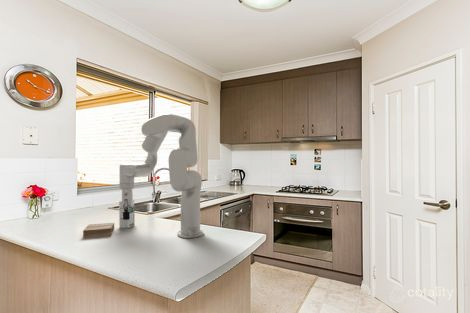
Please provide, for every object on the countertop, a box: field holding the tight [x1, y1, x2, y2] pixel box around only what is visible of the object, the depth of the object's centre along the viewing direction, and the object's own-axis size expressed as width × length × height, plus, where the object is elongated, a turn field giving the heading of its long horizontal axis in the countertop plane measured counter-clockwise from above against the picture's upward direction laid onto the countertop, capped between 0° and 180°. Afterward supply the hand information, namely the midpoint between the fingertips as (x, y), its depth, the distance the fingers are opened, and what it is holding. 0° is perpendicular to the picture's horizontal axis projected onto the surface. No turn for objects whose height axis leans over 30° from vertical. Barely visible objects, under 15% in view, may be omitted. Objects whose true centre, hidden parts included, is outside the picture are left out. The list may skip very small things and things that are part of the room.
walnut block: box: [82, 222, 115, 239], centre depth 130 cm, size 12×12×4 cm
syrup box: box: [118, 199, 135, 229], centre depth 143 cm, size 6×6×14 cm
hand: (126, 217), depth 143 cm, fingers closed on syrup box, 7 cm apart
